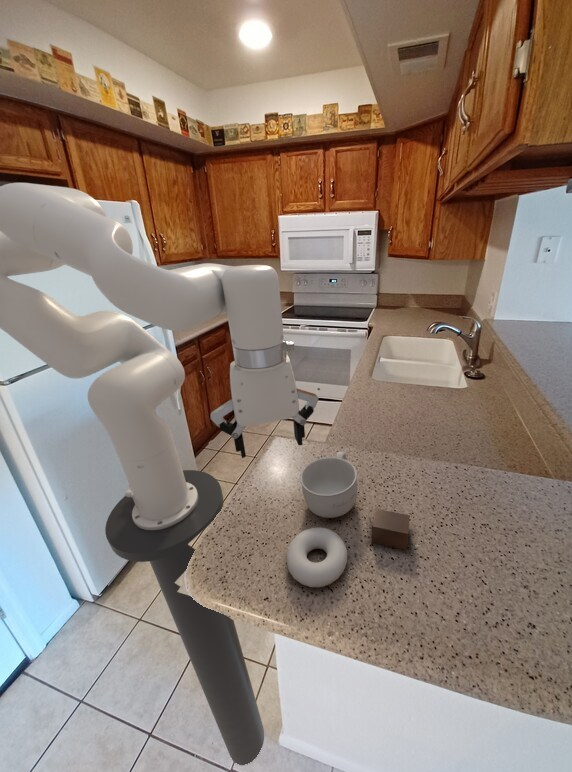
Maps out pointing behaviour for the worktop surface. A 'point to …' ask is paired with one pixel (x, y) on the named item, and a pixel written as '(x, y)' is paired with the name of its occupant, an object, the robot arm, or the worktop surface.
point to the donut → (318, 571)
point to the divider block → (390, 529)
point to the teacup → (329, 486)
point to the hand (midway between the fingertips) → (271, 446)
